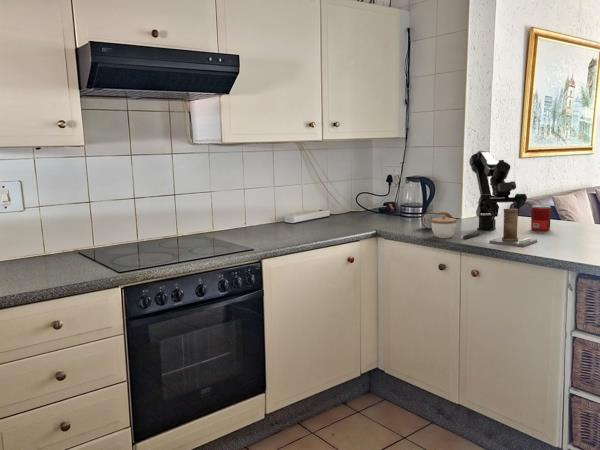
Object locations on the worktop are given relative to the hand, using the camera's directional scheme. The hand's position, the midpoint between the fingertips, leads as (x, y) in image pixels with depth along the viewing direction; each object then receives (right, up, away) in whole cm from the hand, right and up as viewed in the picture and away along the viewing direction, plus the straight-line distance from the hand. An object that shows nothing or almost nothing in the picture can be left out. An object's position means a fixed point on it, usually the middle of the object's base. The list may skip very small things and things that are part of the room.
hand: (506, 216), depth 221 cm
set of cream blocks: (+4, -10, -9) cm, 14 cm away
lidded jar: (-22, -9, +14) cm, 28 cm away
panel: (+1, -11, -4) cm, 11 cm away
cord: (-11, -9, +11) cm, 18 cm away
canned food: (+25, -6, +23) cm, 34 cm away
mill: (0, -10, -4) cm, 10 cm away
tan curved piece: (-20, -6, +34) cm, 40 cm away
